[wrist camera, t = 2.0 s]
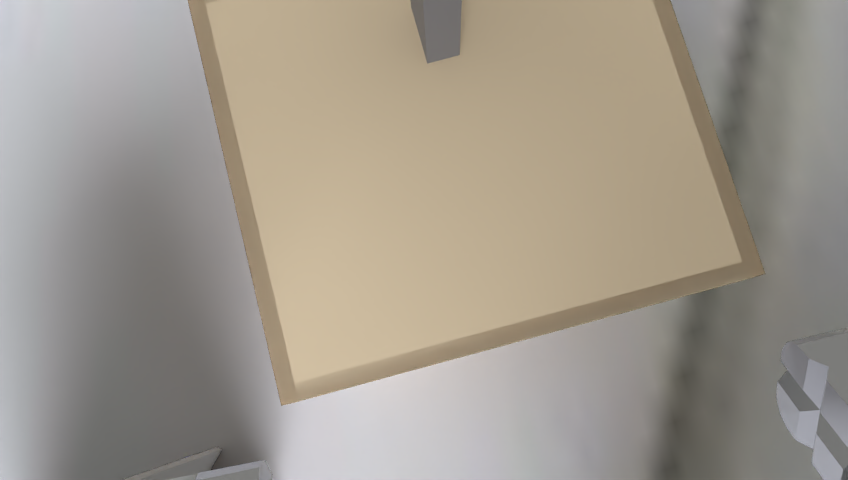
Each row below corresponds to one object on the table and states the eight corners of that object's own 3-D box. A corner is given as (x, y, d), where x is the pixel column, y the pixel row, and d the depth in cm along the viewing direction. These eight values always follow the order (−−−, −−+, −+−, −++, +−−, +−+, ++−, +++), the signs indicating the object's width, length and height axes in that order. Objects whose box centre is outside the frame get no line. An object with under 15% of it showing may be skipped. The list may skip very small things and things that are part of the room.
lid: (744, 279, 37) (845, 250, 27) (292, 403, 36) (238, 415, 27) (616, -95, 40) (667, -234, 31) (201, 15, 40) (126, -92, 30)
